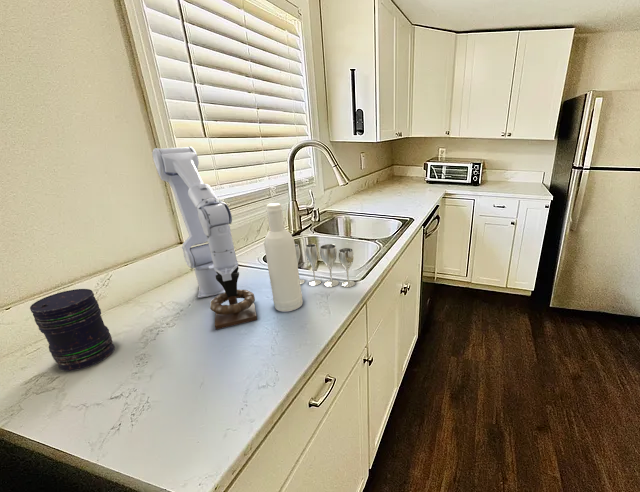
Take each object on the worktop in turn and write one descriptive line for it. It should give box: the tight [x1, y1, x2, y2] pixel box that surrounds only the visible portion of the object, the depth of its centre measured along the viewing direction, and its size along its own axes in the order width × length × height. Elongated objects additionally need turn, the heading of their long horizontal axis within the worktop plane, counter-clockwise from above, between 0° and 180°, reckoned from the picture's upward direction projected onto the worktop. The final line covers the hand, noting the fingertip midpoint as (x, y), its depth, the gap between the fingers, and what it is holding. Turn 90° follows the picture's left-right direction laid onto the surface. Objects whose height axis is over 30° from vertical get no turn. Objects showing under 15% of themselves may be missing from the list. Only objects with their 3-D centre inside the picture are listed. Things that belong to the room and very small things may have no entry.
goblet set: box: [295, 243, 356, 288], centre depth 106 cm, size 28×6×13 cm, turn 84°
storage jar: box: [29, 288, 116, 372], centre depth 72 cm, size 10×10×15 cm
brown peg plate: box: [214, 296, 258, 331], centre depth 89 cm, size 10×10×6 cm
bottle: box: [263, 202, 304, 313], centre depth 90 cm, size 8×8×30 cm
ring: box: [209, 289, 256, 315], centre depth 88 cm, size 11×11×2 cm
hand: (232, 294), depth 92 cm, fingers closed on ring, 2 cm apart
